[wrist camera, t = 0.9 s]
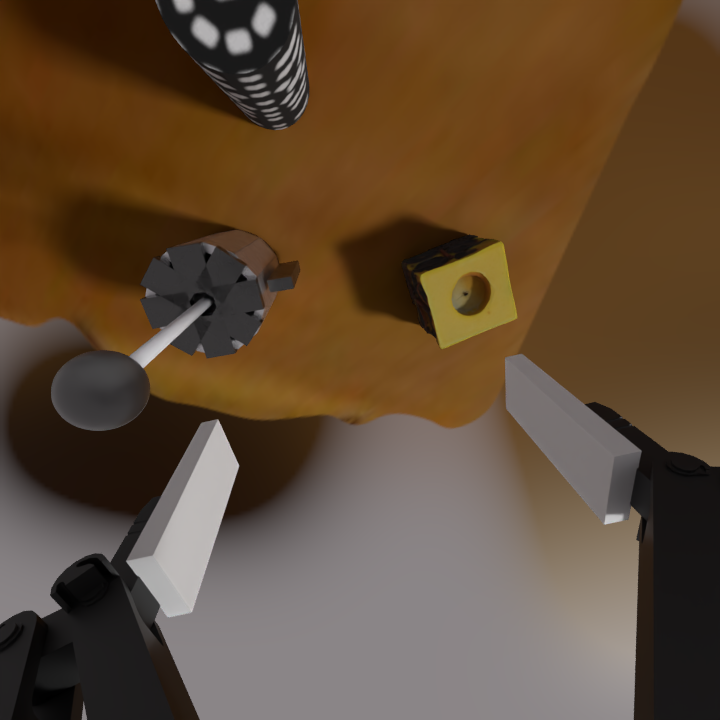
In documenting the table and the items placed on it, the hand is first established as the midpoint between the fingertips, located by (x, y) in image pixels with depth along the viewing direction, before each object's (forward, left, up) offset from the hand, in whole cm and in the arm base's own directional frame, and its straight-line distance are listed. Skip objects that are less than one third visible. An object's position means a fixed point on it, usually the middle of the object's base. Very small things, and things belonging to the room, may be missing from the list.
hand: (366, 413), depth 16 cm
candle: (+4, +14, -35) cm, 38 cm away
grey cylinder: (-2, -11, -35) cm, 37 cm away
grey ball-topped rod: (-2, -13, -26) cm, 29 cm away
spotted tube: (-21, -4, -35) cm, 41 cm away
